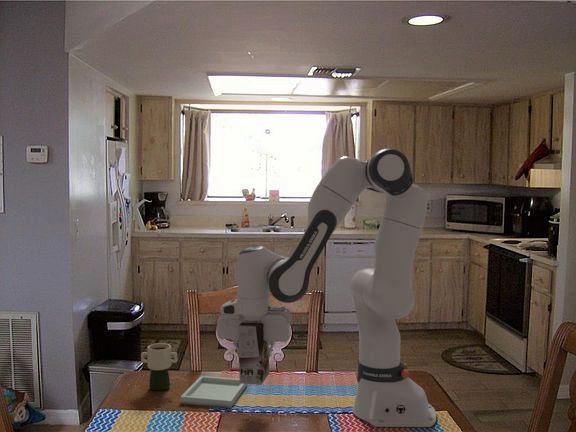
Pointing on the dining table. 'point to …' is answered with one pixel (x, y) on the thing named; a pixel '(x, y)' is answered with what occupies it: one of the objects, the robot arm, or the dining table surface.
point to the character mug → (159, 364)
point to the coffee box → (252, 354)
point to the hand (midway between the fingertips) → (254, 355)
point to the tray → (213, 392)
